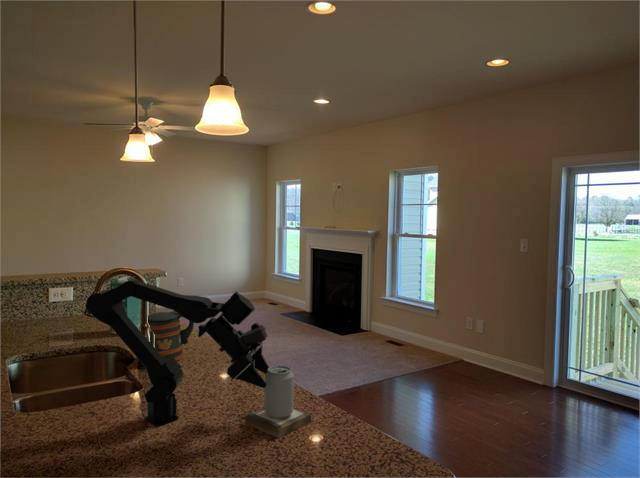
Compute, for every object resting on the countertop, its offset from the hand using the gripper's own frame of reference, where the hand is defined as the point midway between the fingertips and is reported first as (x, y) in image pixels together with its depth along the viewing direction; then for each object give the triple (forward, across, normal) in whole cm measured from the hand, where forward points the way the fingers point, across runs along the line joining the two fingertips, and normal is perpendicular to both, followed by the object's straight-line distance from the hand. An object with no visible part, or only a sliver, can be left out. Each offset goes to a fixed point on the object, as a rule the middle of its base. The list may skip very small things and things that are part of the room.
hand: (268, 380), depth 120 cm
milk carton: (-46, +86, +63) cm, 116 cm away
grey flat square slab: (+10, 0, +6) cm, 11 cm away
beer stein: (-23, +51, +40) cm, 69 cm away
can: (+8, 0, +4) cm, 9 cm away
